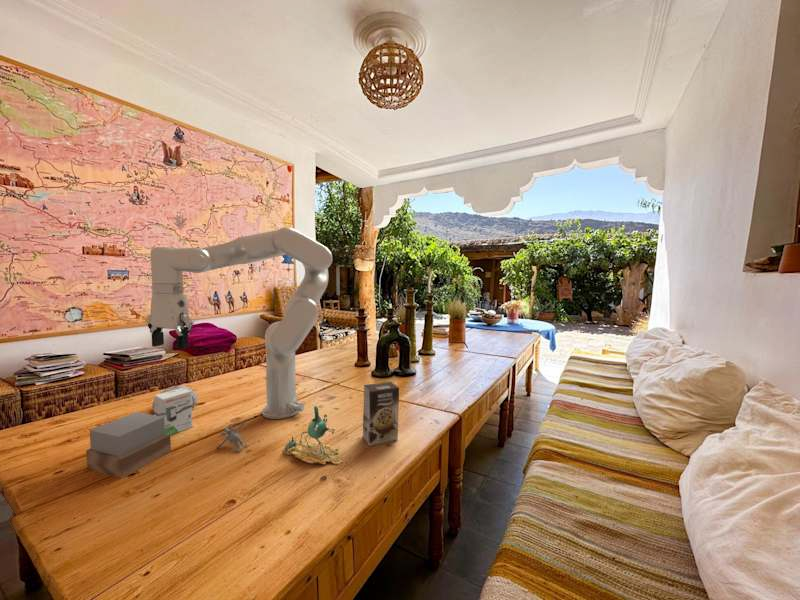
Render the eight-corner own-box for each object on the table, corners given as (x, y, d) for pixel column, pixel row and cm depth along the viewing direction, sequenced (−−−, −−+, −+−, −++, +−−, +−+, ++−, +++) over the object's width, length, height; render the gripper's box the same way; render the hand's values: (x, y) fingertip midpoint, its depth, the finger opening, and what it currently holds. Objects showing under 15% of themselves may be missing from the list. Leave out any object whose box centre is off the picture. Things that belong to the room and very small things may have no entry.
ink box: (162, 438, 96) (161, 399, 94) (154, 434, 98) (152, 395, 97) (193, 426, 103) (192, 390, 102) (184, 422, 105) (183, 387, 104)
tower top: (164, 435, 88) (164, 417, 88) (119, 457, 78) (118, 436, 78) (137, 429, 91) (136, 411, 91) (90, 449, 81) (89, 430, 80)
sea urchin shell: (162, 420, 107) (161, 396, 106) (145, 410, 114) (144, 387, 113) (205, 407, 118) (204, 385, 117) (187, 398, 125) (186, 377, 124)
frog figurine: (299, 439, 97) (304, 391, 95) (351, 461, 90) (357, 410, 88) (274, 455, 88) (279, 403, 86) (330, 481, 81) (336, 424, 79)
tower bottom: (171, 452, 89) (170, 435, 89) (122, 479, 78) (121, 459, 77) (138, 445, 92) (137, 428, 92) (87, 469, 81) (86, 450, 80)
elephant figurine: (221, 460, 86) (207, 439, 90) (233, 465, 90) (219, 446, 94) (250, 431, 90) (235, 413, 94) (260, 438, 94) (245, 420, 98)
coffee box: (369, 446, 93) (370, 391, 92) (362, 436, 99) (362, 384, 98) (398, 440, 97) (399, 387, 96) (390, 430, 103) (391, 380, 102)
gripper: (202, 290, 98) (203, 346, 99) (158, 288, 103) (160, 342, 104) (178, 291, 90) (180, 352, 92) (133, 289, 95) (135, 347, 97)
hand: (170, 347), depth 98 cm, fingers open, 9 cm apart
